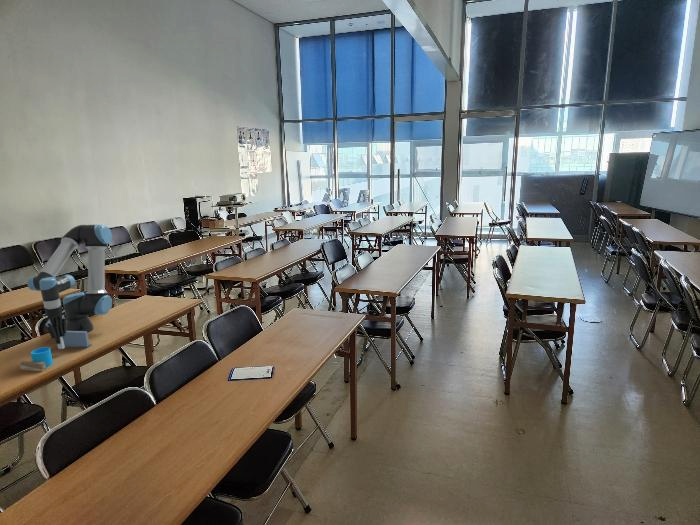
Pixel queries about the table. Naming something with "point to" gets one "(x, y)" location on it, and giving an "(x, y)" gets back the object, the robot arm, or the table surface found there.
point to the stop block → (32, 366)
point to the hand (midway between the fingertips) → (61, 348)
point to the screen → (76, 339)
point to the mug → (42, 356)
